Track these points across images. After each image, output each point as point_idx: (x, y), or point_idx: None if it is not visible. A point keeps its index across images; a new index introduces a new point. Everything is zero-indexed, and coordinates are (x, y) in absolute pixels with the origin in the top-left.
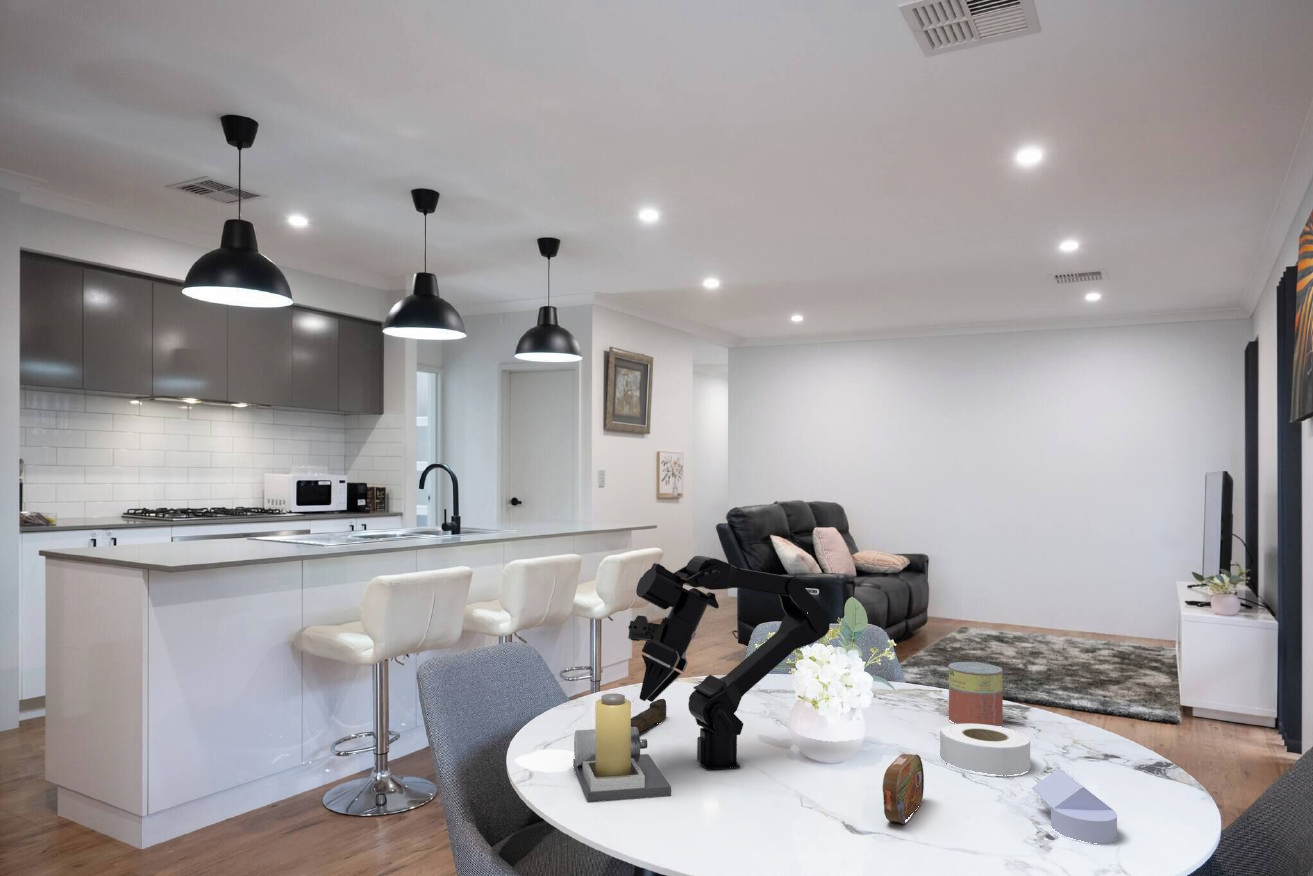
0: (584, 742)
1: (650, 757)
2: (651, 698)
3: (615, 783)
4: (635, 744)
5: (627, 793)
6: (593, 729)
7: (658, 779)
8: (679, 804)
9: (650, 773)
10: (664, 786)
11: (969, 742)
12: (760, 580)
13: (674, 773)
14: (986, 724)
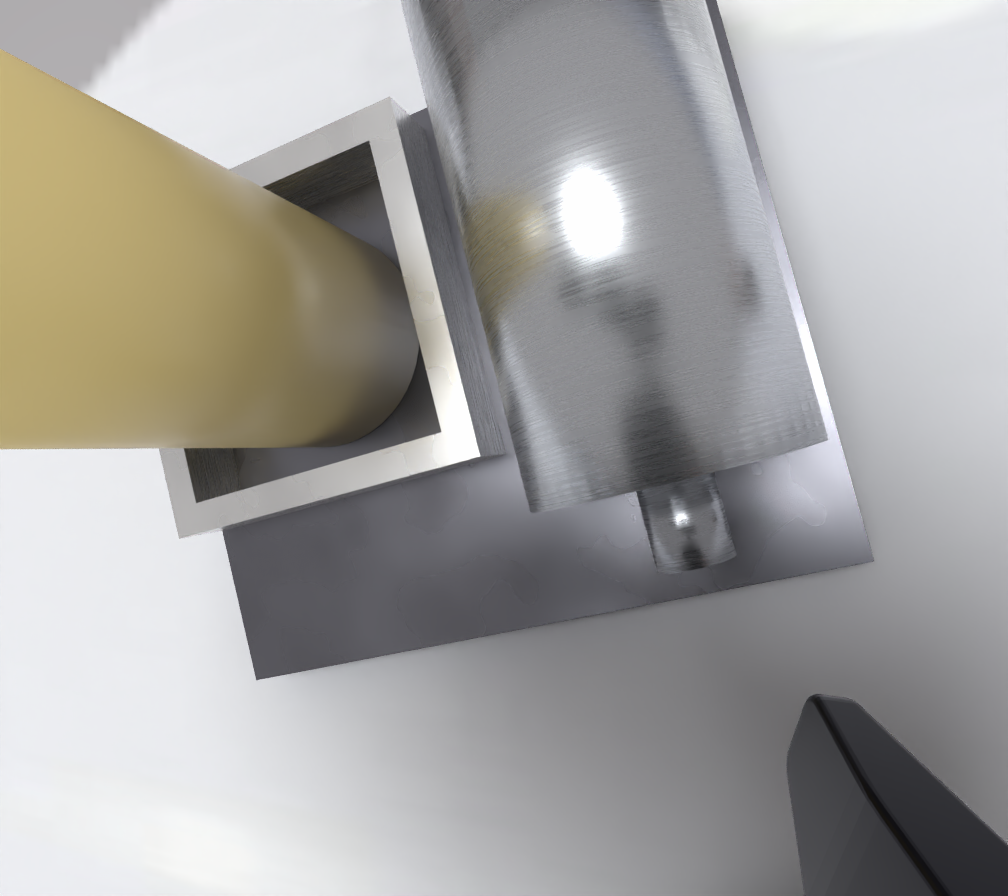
0: (415, 29)
1: (780, 576)
2: (803, 781)
3: None
4: (520, 472)
5: None
6: (564, 30)
7: (351, 614)
8: (194, 696)
9: (446, 568)
10: (256, 642)
11: None
12: None
13: (634, 722)
14: None
